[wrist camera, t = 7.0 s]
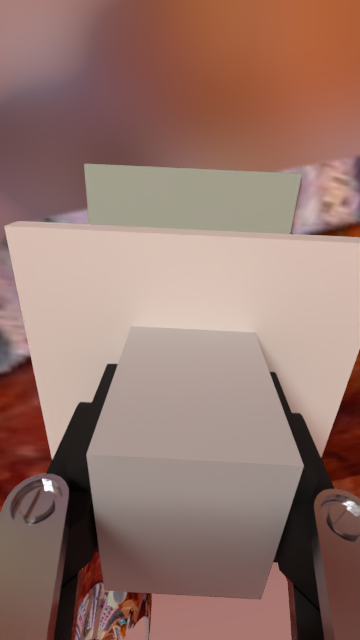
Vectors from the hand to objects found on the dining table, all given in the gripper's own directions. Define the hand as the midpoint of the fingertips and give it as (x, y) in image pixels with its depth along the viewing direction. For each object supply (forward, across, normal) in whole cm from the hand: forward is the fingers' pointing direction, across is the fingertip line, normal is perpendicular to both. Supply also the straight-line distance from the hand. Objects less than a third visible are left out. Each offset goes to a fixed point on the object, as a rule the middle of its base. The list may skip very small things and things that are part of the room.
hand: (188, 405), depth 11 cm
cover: (+2, 0, 0) cm, 2 cm away
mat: (+15, 0, 0) cm, 15 cm away
